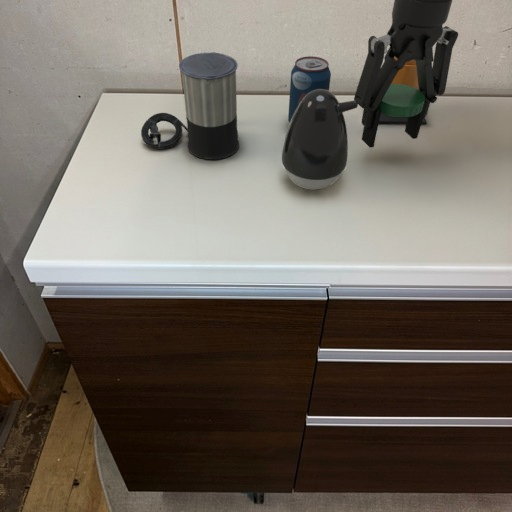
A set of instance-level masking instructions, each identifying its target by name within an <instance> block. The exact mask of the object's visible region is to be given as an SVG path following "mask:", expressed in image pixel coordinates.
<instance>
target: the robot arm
mask: <svg viewBox="0 0 512 512" xmlns="http://www.w3.org/2000/svg"><path fill="white" fill-rule="evenodd" d="M452 3H453V0H394V1H393V5H392V6H393V7H392V11H391V26H390V28H389V30H387V33H386V34H384V35H381V36H379V37H377V36H375V35H370V37H369V38H368V39H367V40H368V41H367V44H368V45H367V50H368V51H367V55H366V58H365V61H364V65H363V68H362V70H361V75H360V78H359V81H358V85H357V87H356V91H355V93H354V97H353V101H355V100H356V101H357V103H358V106H359V107H360V108H362V110H363V111H362V116H361V125H362V126H363V129H362V134H361V141H362V142H363V143H364V144H365V145H366V146H367V147H368V148H369V149H370V148H374V147H375V143H376V138H377V134H378V129H379V125H380V124H379V120H380V115H381V111H382V110H381V109H379V108H378V106H379V104H380V103H381V101H382V99H383V97H384V95H385V94H386V92H387V90H388V88H389V87H390V85H391V83H392V81H393V80H394V78H395V76H396V74H397V73H398V71H399V70H400V69H402V68H403V67H404V65H405V63H406V62H408V61H411V60H416V68H417V77H418V86H419V90H420V91H421V92H422V93H423V94H424V96H425V102H424V106H423V109H422V111H421V112H420V113H419V114H417V115H415V116H412V117H408V120H407V124H405V128H404V132H405V133H406V134H407V135H409V137H410V138H411V139H413V140H416V139H418V137H419V134H420V131H421V130H420V129H421V126H422V125H421V123H422V120H423V118H424V117H425V118H426V117H427V115H428V112H429V108H430V106H431V104H435V103H436V102H437V100H438V97H437V96H442V95H444V94H445V92H446V88H447V82H448V76H449V70H450V64H451V59H452V53H453V49H454V46H455V44H456V42H457V40H458V37H459V32H458V31H457V30H455V29H453V28H451V27H449V26H447V25H446V26H443V25H445V23H446V22H447V20H448V18H449V14H450V11H451V7H452ZM434 46H435V47H434ZM433 47H434V50H433ZM394 56H395V57H396V58H398V60H396V59H395V58H394Z"/></svg>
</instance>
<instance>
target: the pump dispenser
mask: <svg viewBox="0 0 512 512" xmlns="http://www.w3.org/2000/svg"><path fill="white" fill-rule="evenodd" d="M358 106H359V105H358V103H357V101H356V100H355V101H354V100H349V101H343V102H340V101H339V100H338V98H337V97H336V95H335V94H334V93H333V92H332V91H330V90H329V91H328V90H325V89H315V90H312V91H310V92H309V93H308V94H306V95H305V97H304V98H303V99H302V100H301V102H300V103H299V105H298V107H297V109H296V111H295V112H294V115H293V117H292V119H291V121H290V123H288V126H287V130H286V133H285V137H284V140H283V144H282V145H283V146H282V151H281V163H282V165H283V167H284V170H285V173H286V175H287V177H288V178H289V180H290V181H291V182H292V183H294V184H295V185H297V186H298V187H300V188H303V189H305V190H322V189H325V188H328V187H329V186H331V185H333V184H334V183H335V182H336V181H338V179H339V178H340V176H341V174H342V173H343V172H344V171H345V169H346V168H347V163H348V156H349V155H348V151H349V143H348V140H349V139H348V131H347V130H348V129H347V124H346V119H345V116H344V113H345V112H349V111H351V110H355V109H357V108H358Z"/></svg>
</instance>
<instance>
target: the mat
mask: <svg viewBox="0 0 512 512" xmlns="http://www.w3.org/2000/svg"><path fill="white" fill-rule="evenodd" d="M407 120H408V117H392V116H388V115H385V114H383V113H381V115H380V120H379V124H378V125H406V124H407ZM427 123H428V121H427V119H426V117H424V118H423V120H422V123H421V126H423V125H425V126H426V125H427Z"/></svg>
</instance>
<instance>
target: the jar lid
mask: <svg viewBox="0 0 512 512" xmlns="http://www.w3.org/2000/svg"><path fill="white" fill-rule="evenodd" d="M424 102H425V96H424V94H423V93H422V92H421V91H420V90H418V89H416V88H414V87H411V86H407V85H402V84H391V85H390V87H389V88H388V90H387V92H386V94H385V95H384V97H383V99H382V101H381V103H380V104H379V106H378V108H379V109H381V110H382V111H381V113H383V114H386V115H390V116H394V117H412V116H415V115H417V114H419V113H420V112H421V111H422V109H423V106H424Z"/></svg>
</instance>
